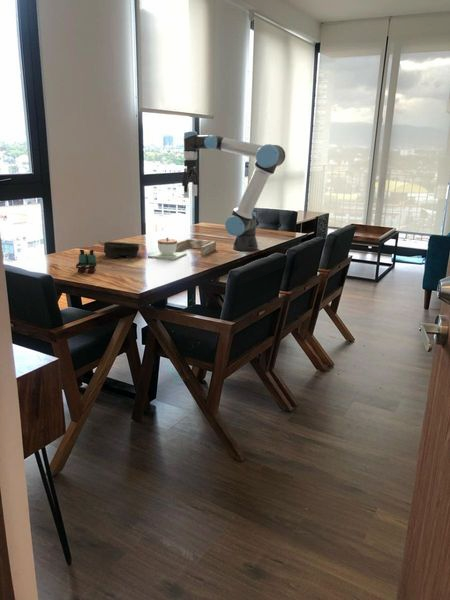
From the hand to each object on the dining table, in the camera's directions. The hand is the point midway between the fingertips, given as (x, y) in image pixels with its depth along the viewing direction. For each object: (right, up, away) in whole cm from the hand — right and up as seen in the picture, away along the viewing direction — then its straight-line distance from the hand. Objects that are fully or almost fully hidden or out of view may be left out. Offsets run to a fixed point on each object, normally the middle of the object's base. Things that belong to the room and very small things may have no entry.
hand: (190, 196), depth 293 cm
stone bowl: (-37, -37, -18) cm, 55 cm away
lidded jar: (-12, -36, -17) cm, 41 cm away
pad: (-12, -37, -17) cm, 42 cm away
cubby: (+2, -32, -1) cm, 33 cm away
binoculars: (-46, -48, -56) cm, 87 cm away
